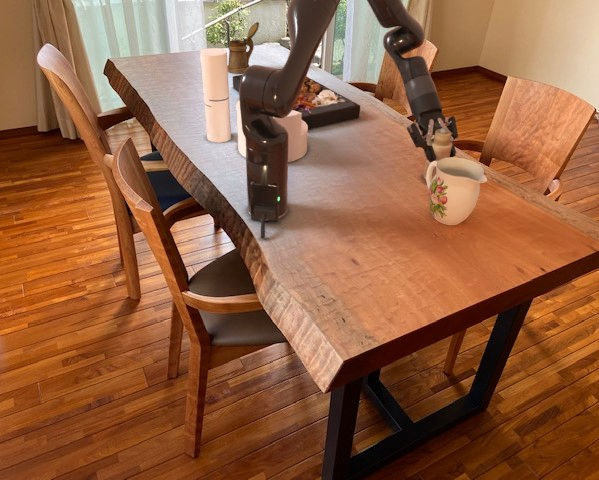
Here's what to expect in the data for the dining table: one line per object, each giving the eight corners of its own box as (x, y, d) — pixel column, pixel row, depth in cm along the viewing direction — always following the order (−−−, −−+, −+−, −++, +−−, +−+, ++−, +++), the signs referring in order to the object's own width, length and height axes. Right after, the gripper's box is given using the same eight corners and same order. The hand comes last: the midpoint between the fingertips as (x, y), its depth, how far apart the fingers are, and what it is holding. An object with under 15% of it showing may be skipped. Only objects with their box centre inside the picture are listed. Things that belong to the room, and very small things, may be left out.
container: (320, 146, 146) (323, 102, 138) (277, 170, 133) (277, 123, 125) (269, 128, 156) (268, 86, 148) (223, 149, 143) (221, 104, 135)
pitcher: (440, 193, 127) (452, 143, 119) (489, 230, 113) (505, 177, 105) (404, 201, 123) (413, 150, 115) (450, 240, 110) (464, 186, 102)
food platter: (359, 118, 165) (362, 87, 159) (296, 132, 154) (296, 100, 148) (289, 78, 196) (290, 51, 189) (233, 88, 185) (231, 59, 179)
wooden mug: (263, 71, 202) (262, 24, 191) (230, 74, 197) (228, 26, 187) (256, 65, 208) (255, 19, 198) (224, 67, 204) (222, 21, 193)
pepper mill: (445, 183, 129) (457, 133, 121) (423, 181, 129) (434, 131, 121) (443, 173, 133) (454, 124, 125) (422, 171, 134) (431, 122, 126)
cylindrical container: (226, 143, 146) (221, 56, 131) (203, 140, 147) (196, 54, 132) (234, 134, 152) (230, 49, 137) (211, 131, 153) (205, 47, 138)
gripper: (407, 94, 122) (428, 159, 120) (453, 87, 127) (474, 149, 126) (392, 107, 129) (411, 168, 127) (436, 100, 134) (455, 159, 133)
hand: (442, 158), depth 126 cm, fingers closed on pepper mill, 5 cm apart
